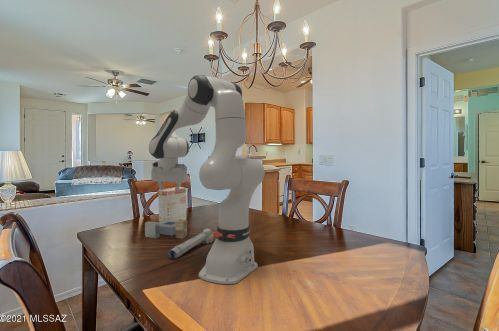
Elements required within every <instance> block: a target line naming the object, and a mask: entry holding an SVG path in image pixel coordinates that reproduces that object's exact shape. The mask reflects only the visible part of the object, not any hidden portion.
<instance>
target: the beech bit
mask: <svg viewBox="0 0 499 331" xmlns="http://www.w3.org/2000/svg"><path fill="white" fill-rule="evenodd" d="M187 222H188V220H187V219H186V220H182V219H180V220H177V221H175V229H176V234H175V239H184V238H187V236H188V223H187Z"/></svg>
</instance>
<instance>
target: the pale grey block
mask: <svg viewBox="0 0 499 331" xmlns="http://www.w3.org/2000/svg"><path fill="white" fill-rule="evenodd" d="M160 235H161V234H160V232H159V221H146V222H144V236H145V237H144V238H147V237H149V239H158V238H160V237H161V236H160Z"/></svg>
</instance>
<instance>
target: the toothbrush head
mask: <svg viewBox="0 0 499 331" xmlns="http://www.w3.org/2000/svg"><path fill="white" fill-rule="evenodd" d="M200 243H202V244H203V245H209V244H213V243H214V237H213V232H212V230H211V228H205V229H203V230H202V232H200V233H199V234H197V235H195V236H193V237H191V238H189V239H187V240H186V241H184V242H182V243H180V244H178V245H174V247H173V248H172V249H170V250H168V252H167V254H168V257H169V259H171V258H172V260H176V259H178V258H180V257H182V255H183V254H185V253H187V252H188V251H189V250H191V249H192V248H194V247H196V246H197V245H198V244H200Z"/></svg>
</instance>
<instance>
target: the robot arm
mask: <svg viewBox="0 0 499 331" xmlns="http://www.w3.org/2000/svg"><path fill="white" fill-rule="evenodd" d="M187 85H188V86H187V93H186V95H185V97H184V100H183V101H182V103H181V104H180V105H179V106H178V107H177V108H176V109H175V110H172V111H171V112H170V113H169V114H168V116H167V117H166V119H165V120H164V122H163V123H162V125H161V126H160V128H159V129H158V131H157V132H156V134H155V136H154V137H153V138H152V139H151V140H150V141H149V144H148V151H149V154H150V155H151V156H152V157H153V158H154V159H156V161H153V162H151V167H152V168H151V171H150V178H151V179H150V180H152V181H153V182H157V184H158V187H159V190H164V189H165V186H164V185H163V182H164V183H167V182H168V183H176V185H177V186H176V188H175V191H179V190H180V187H182V183H183V184H184V183H187V182H188V180H189V179H188V178H189V176H188V167H187V165H186V164H184V163H179V158H185V157H186V156H188V153H190V145H189V142H188V140H186V139H185V138H182V137H180V136H179V135H178V134H177V132H176V130H178V129H181V128H183V127H188V126H195V125H198V124H200V123H202V122H203V120H204V119H205V118H206V117H207V115H208V112H209V110H210V109H211V107H213V109H214V113H215V115H214V117H215V119H214V120H215V143H214V147H213V150H212V151H211V152H212V153H211V154H210V156H209V157H208V158H207V159H206V160H205V161H204V162H203V163H202V164H201V166H200V168H199V172H198V179H199V181H200V183H201V185H202V186H203V187H204V188H205V189H207V190H211V191H213V190H215V191H223V190H224V191H225V190H230V191H229V194H228V195H227V196H226V197H225V199H223V200H222V201H221V202H220V203H219V205H218V208H217V210H218V214H217V215H218V217H217V218H218V222H217V223H218V225H217V226H216V230H215V231H213V232H212V234H213V238H215V240H214V241H213V243H212V245H211V248H210V250H209V252H208V254H207V255H206V260H205V264H204V266H203V267H202V269H201V270H200V271H199V273H198V278H200V279H201V280H203V281H206V282H209V283H213V284H220V285H221V284H223V285H235V284H237V283H239V282H241V280H243V279H244V278H246V277H247V276H248V275H250V274H251V273H252V272H253V271H255V270H256V269H257V268H258V267H259V265H258V262H256V261H255V250H254V249H255V248H254V243H253V242H252V240H251V238H250V235H251V233H250V232H251V229H250V225H249V217H250V216H249V214H250V212H249V211H250V204H251V200H252V197H253V194H254V193H255V191H256V189H257V188H258V186H260V184H261V183H262V182H264V178H265V173H266V172H265V167H264V165H263V163H262V162H261V160H257V159H253V158H248V157H247V158H242V157H241V158H240V157H239V158H238V157H237V158H236V154H237V152H238V149H239V148H241V147H243V145H245V144H246V141H247V121H246V118H247V117H246V110H245V104H244V101H243V91H242V88H241V87H240V85H238V84H237V83H235V82H233V81H228V80H225V79H221V78H219V77H214V76H207V75H204V74H198V75H197V74H196V75H193V77H192V78H190V81H189V82H188V84H187ZM158 159H159V160H158Z"/></svg>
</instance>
